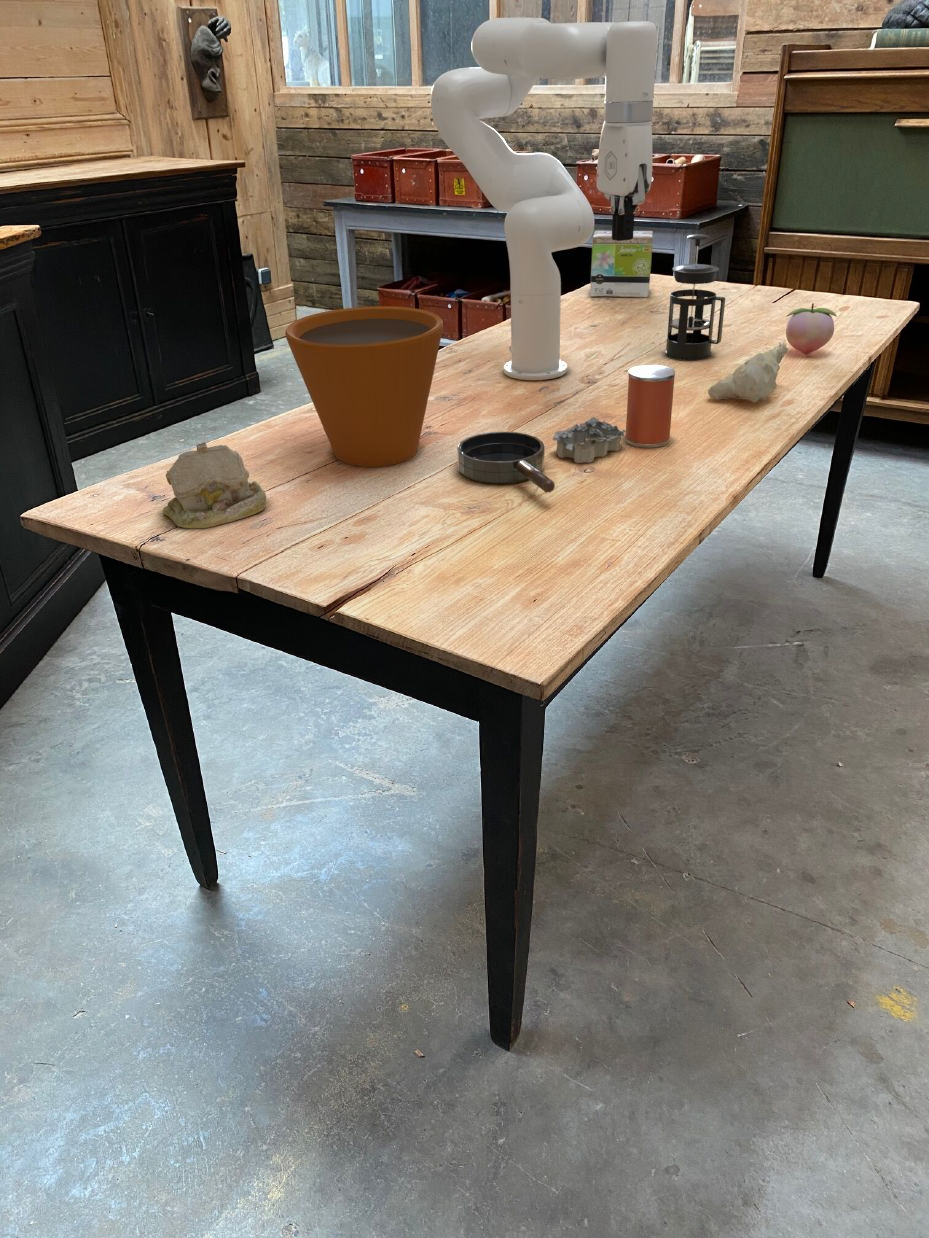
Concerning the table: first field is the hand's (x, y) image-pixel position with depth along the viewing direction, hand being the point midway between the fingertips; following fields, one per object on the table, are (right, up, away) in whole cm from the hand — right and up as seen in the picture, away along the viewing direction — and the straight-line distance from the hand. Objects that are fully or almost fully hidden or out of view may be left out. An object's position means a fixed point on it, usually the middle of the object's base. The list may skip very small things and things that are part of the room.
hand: (622, 239), depth 156 cm
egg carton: (-7, -37, -8) cm, 38 cm away
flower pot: (-41, -36, -4) cm, 55 cm away
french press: (+20, -9, +37) cm, 43 cm away
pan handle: (-16, -44, -23) cm, 52 cm away
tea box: (+14, +21, +87) cm, 91 cm away
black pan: (-21, -40, -13) cm, 47 cm away
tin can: (+3, -34, -5) cm, 35 cm away
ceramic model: (-62, -48, -23) cm, 81 cm away
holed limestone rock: (+25, -23, +13) cm, 37 cm away
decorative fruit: (+43, -10, +34) cm, 56 cm away
